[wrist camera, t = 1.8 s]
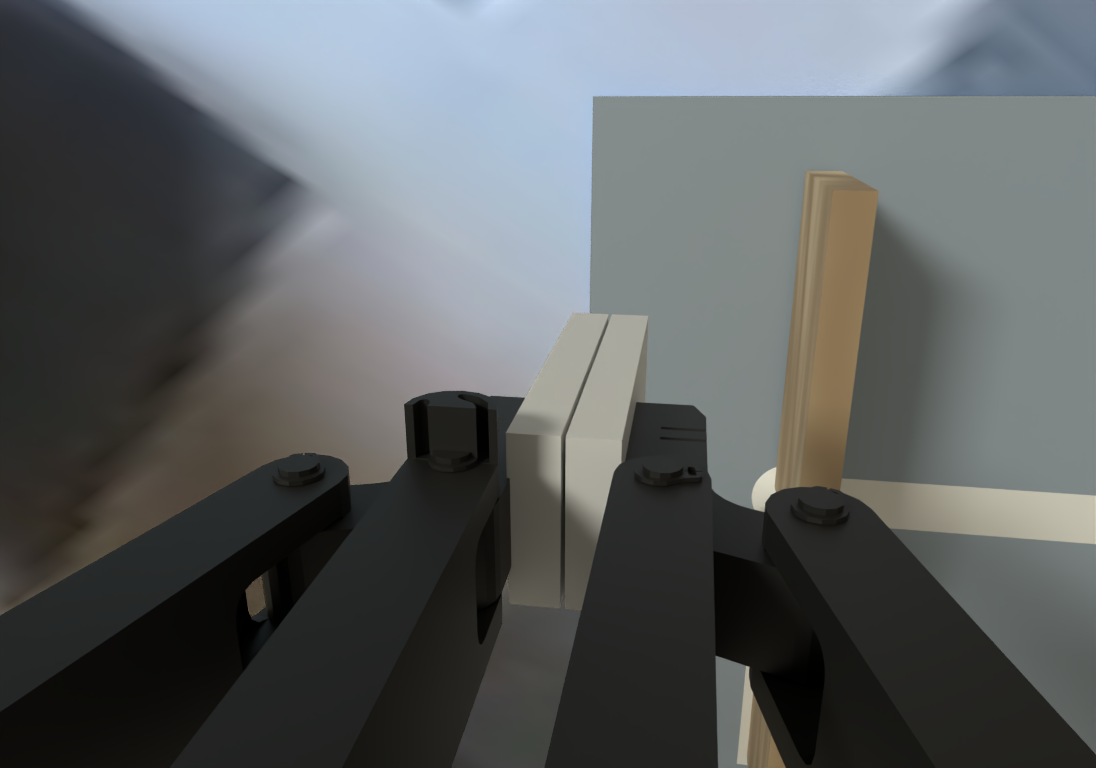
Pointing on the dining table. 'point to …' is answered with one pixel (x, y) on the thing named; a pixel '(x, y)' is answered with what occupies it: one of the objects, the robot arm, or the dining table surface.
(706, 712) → the robot arm
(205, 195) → the dining table surface
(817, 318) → the hinged panel
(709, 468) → the card
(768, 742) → the fixed panel
